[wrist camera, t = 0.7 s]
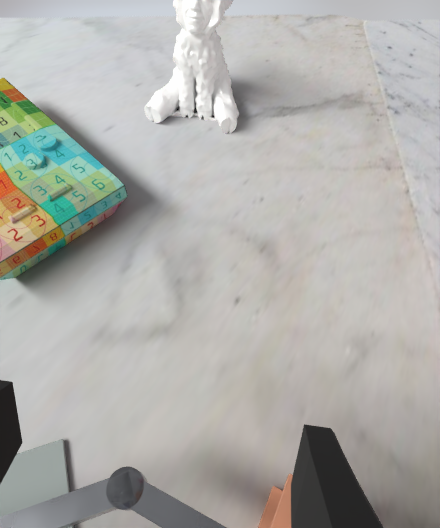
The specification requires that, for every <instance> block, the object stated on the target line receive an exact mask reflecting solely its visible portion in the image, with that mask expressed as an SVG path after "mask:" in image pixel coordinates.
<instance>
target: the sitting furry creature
mask: <svg viewBox="0 0 440 528" xmlns="http://www.w3.org/2000/svg"><path fill="white" fill-rule="evenodd" d="M232 2H233V0H174V1H173V7H174V8H175V9H176V14H177V17H176V21H177V22H178V23H179V24H180V26H181V27H182V30H181V32H180V34H179V35H177V42H176V44H175V48H174V55H173V62H175V64H176V65H177V66H176V68H174V69H173V77H172V78H171V80H170V81H169V83H168V84H166V85H165V86H164V87H163V88H161V89H160V90H157V91H156V92H155V93H154V95H153V96H152V98H151V100H150V101H149V102H148V103H147V105H146V106H145V108H144V112H145V114H146V116H147V117H148V119H149V120H151V121H154V122H155V124H156V123H159V122H162V121H163V120H164V119H166V118H167V117H169V116H176V117H184V118H185V117H186V115H188V117H189V118H191V117H193V115H194V116H198V117H199V119H200V120H201V119H202V117H204V121H207V120H211V121H218V122H219V125H220V127H221V129H222V131H223V132H224V133H225V134H227V133H228V132H229V133H232V132H233V131H234V130H235V128H236V126H237V117H238V116H239V111H238V109H237V108H236V107H237V105H236V104H235V101H234V98H233V95H232V94H233V91H232V89H231V83H232V81H231V78H230V75H229V71H228V69H227V64H226V63H225V58H224V55H223V53H222V51H223V47H222V45H221V42H220V41H221V38H220V36H219V35H217V32H216V30H215V29H216V27H218V26H219V25H220V24H221V23H222V21H223V18H224V13H225V11H226V10H227V9H228V8H229V7H230V6H231V4H232ZM194 103H196V110H197V111H198V113H194V109H195V104H194ZM178 108H179V110H177V109H178ZM213 109H214V113H213ZM212 116H215V118H212Z"/></svg>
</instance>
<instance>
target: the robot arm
mask: <svg viewBox="0 0 440 528" xmlns="http://www.w3.org/2000/svg"><path fill="white" fill-rule="evenodd" d="M21 444H22V438H21V432H20V426H19V420H18V413H17V407H16V401H15V395H14V389H13V383H12V382H9V381H2V380H0V484H1V482H2V480H3V478H4V477H5V475H6V473H7V471H8V469H9V467H10V466H11V464H12V462H13V460H14V458H15V456H16V454H17V452H18V450H19V448H20V446H21ZM291 528H383V526H382V524H381V523H380V521H379V519H378V517H377V515H376V514H375V512H374V510H373V508H372V507H371V505H370V503H369V501H368V500H367V498H366V496H365V494H364V492H363V490H362V488H361V487H360V485H359V483H358V481H357V479H356V477H355V475H354V473H353V471H352V469H351V467H350V465H349V463H348V461H347V459H346V457H345V455H344V453H343V451H342V449H341V447H340V445H339V442H338V440H337V438H336V436H335V434H334V432H333V431H332V430H331V428H325V427H318V426H311V425H304V428H303V433H302V437H301V442H300V446H299V451H298V455H297V459H296V464H295V468H294V473H293V477H292V482H291Z"/></svg>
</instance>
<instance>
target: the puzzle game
mask: <svg viewBox="0 0 440 528" xmlns="http://www.w3.org/2000/svg"><path fill="white" fill-rule="evenodd" d="M127 196H128V195H127V192H126V188H125V185H124V184H123V183H122V182H121V181H120V180H119V179H118V178H117V177H116V176H114V175H113V174H112V173H111V172H110V171H109V170H108V169H107V168H105V167H104V166H103V165H102V164H101V163H100V162H99V161H97V160H96V159H95V158H94V157H93V156H92V155H91V154H90V153H88V152H87V151H86V150H85V149H84V148H83V147H82V146H80V145H79V144H78V143H77V142H76V141H75V140H74V139H73V138H71V137H70V136H69V135H68V134H67V133H66V132H65V131H64V130H62V129H61V128H60V127H59V126H58V125H57V124H56V123H54V122H53V121H52V120H51V119H50V118H49V117H48V116H47V115H45V114H44V113H43V112H42V111H41V110H40V109H39V108H37V107H36V106H35V105H34V104H33V103H32V102H31V101H30V100H28V99H27V98H26V97H25V96H24V95H23V94H22V93H20V92H19V91H18V90H17V89H16V88H15V87H14V86H13V85H11V84H10V83H9V82H8V81H7V80H6V79H5V78H1V79H0V280H4V279H10V278H15V277H17V276H18V275H20V274H22V273H23V272H25V271H26V270H28V269H29V268H31V267H32V266H34V265H35V264H37V263H39V262H40V261H42V260H43V259H45V258H46V257H48V256H49V255H51V254H52V253H54V252H56V251H57V250H59V249H60V248H62V247H63V246H65V245H66V244H68V243H69V242H71V241H73V240H74V239H76V238H77V237H79V236H80V235H82V234H83V233H85V232H87V231H88V230H90V229H91V228H93V227H94V226H96V225H97V224H99V223H100V222H102V221H104V220H105V219H107V218H108V217H110V216H111V215H113V214H114V212H115V211H116V210H117V208H118V207H119V205H120V204H121V203H122V202H123V201H124V200H125V199H126V198H127Z"/></svg>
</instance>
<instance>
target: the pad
mask: <svg viewBox="0 0 440 528" xmlns="http://www.w3.org/2000/svg"><path fill="white" fill-rule="evenodd" d="M69 492H70V489H69V480H68V471H67V462H66V453H65V444H64V440H63V439H61V440H58V441H55V442H52V443H49V444H46V445H43V446H40V447H37V448H34V449H31V450H28V451H25V452H22V453H19V454H16V456H15V458H14V460H13V462H12V464H11V466H10V467H9V469H8V471H7V473H6V475H5V477H4V478H3V480H2V482H1V484H0V517H2V516H5V515H8V514H10V513H13V512H16V511H19V510H22V509H24V508H27V507H30V506H33V505H36V504H38V503H41V502H44V501H47V500H50V499H52V498H55V497H58V496H61V495H64V494H66V493H69ZM68 528H74V525H73V526H70V527H68Z"/></svg>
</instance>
